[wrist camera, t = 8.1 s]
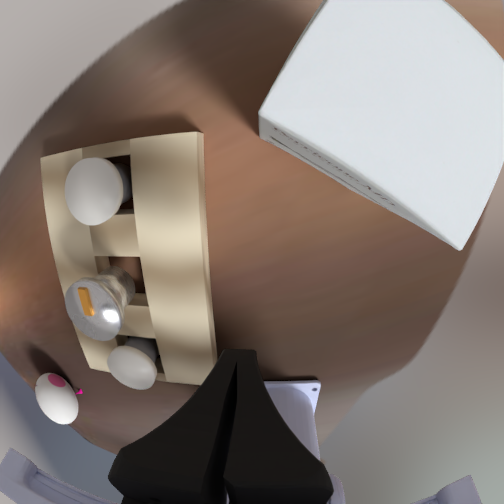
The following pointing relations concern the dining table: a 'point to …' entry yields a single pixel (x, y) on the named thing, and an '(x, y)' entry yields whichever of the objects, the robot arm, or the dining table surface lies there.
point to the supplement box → (395, 109)
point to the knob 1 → (97, 189)
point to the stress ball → (57, 398)
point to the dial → (100, 302)
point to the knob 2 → (135, 362)
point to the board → (145, 250)
